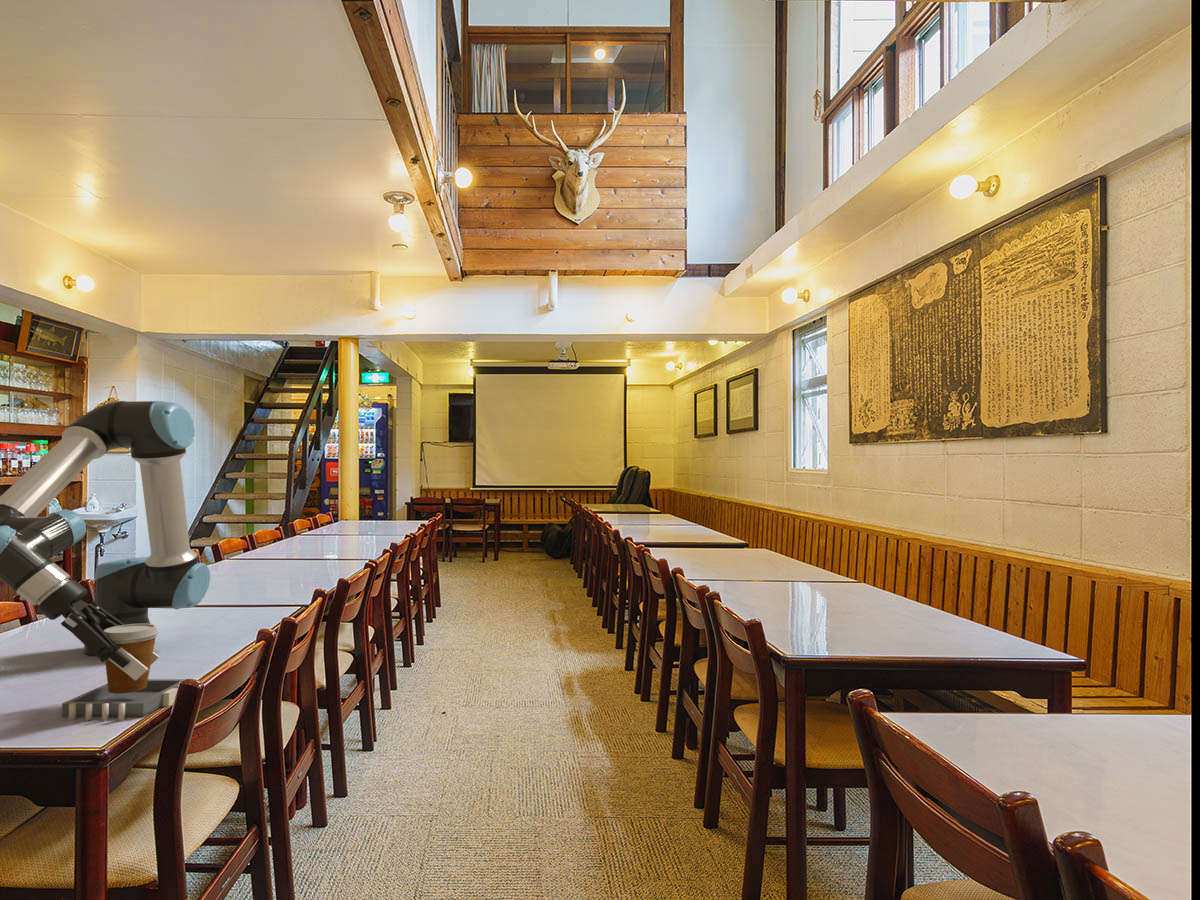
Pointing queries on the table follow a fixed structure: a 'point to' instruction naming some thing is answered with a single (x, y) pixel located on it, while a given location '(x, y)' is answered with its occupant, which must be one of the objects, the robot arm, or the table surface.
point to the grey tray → (122, 701)
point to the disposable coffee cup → (137, 644)
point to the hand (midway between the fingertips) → (148, 668)
